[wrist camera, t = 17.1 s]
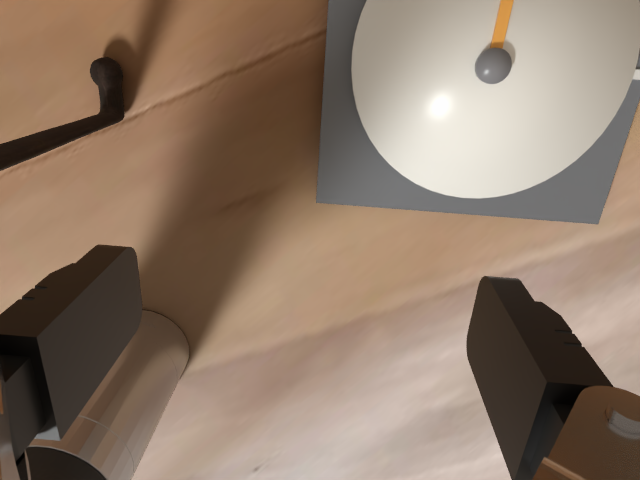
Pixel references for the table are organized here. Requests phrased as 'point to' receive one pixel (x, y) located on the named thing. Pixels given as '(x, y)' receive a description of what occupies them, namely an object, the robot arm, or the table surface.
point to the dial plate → (401, 193)
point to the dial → (490, 86)
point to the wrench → (110, 113)
